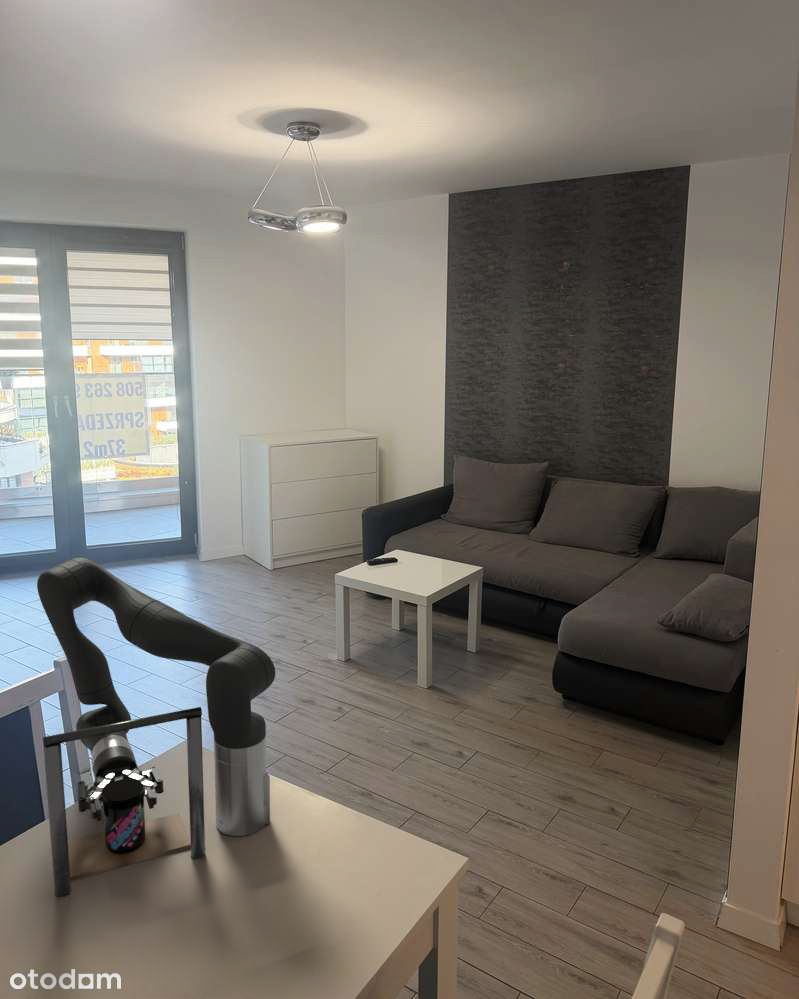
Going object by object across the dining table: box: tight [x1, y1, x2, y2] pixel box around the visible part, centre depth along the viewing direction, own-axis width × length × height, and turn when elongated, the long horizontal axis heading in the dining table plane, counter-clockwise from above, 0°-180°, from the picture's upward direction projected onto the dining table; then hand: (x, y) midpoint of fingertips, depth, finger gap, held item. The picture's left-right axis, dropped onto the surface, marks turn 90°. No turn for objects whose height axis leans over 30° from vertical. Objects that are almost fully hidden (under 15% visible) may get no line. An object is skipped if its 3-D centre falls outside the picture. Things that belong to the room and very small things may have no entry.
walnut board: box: [68, 812, 191, 881], centre depth 132 cm, size 20×10×1 cm, turn 117°
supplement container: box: [102, 779, 146, 854], centre depth 130 cm, size 7×7×10 cm
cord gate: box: [42, 706, 206, 899], centre depth 122 cm, size 24×2×27 cm, turn 117°
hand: (125, 810), depth 129 cm, fingers open, 8 cm apart
